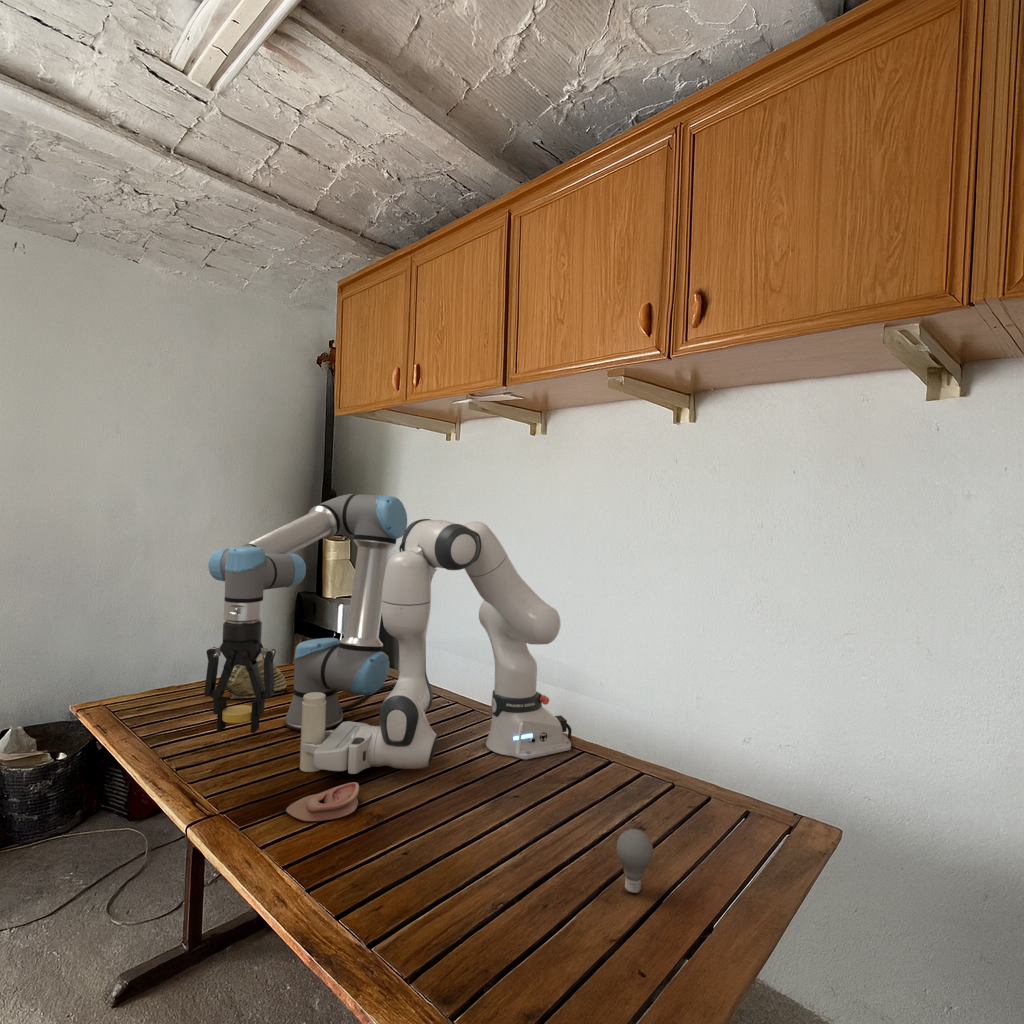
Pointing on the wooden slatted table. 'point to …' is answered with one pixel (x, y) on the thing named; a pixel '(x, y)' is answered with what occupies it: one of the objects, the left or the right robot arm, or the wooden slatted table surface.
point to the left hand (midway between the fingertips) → (238, 729)
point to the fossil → (241, 681)
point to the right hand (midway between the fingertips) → (308, 741)
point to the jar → (312, 726)
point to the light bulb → (634, 857)
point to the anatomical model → (326, 804)
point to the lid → (237, 714)
